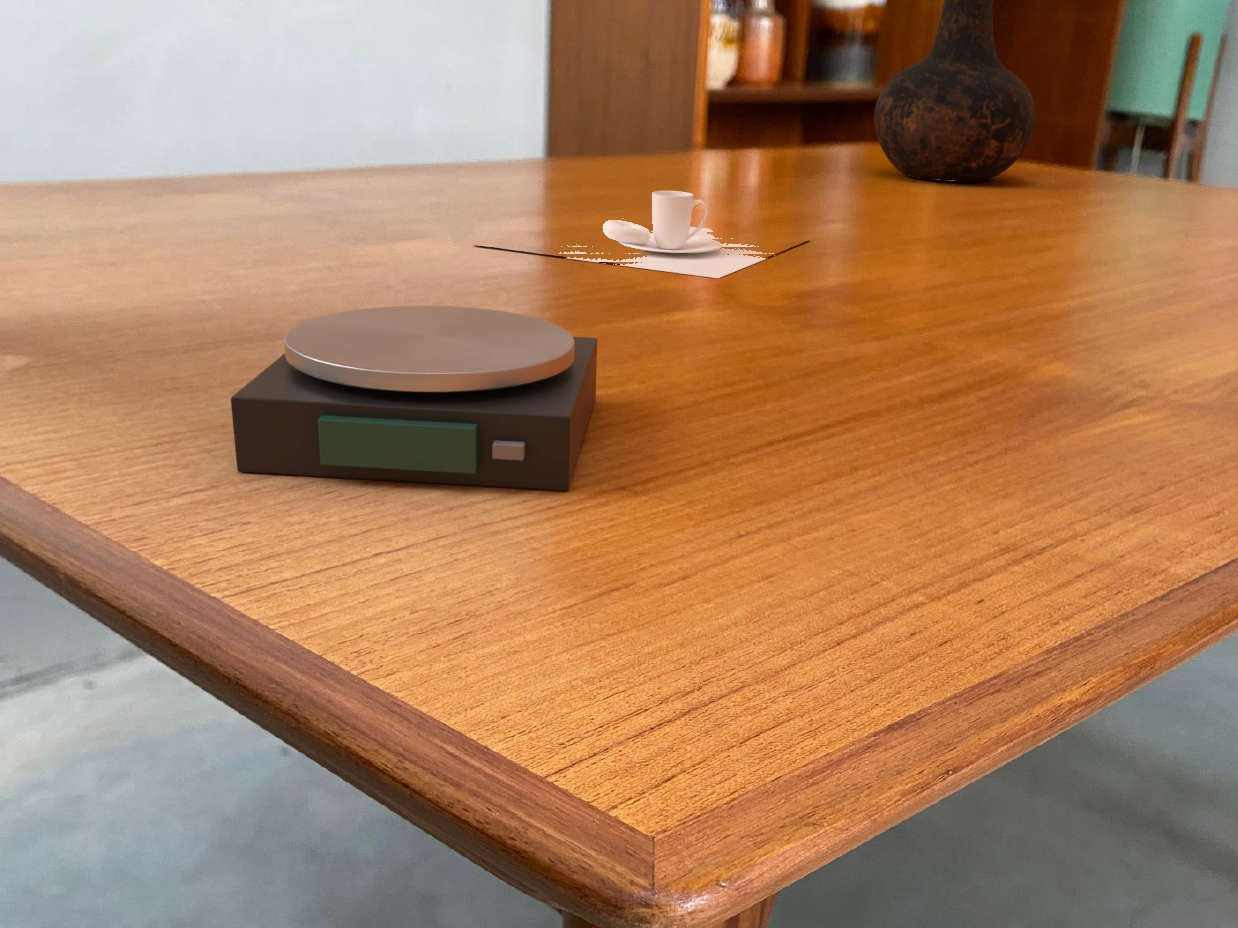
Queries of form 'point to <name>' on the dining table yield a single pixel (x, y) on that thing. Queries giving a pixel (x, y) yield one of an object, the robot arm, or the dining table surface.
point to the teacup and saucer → (676, 241)
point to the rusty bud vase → (956, 104)
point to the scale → (417, 429)
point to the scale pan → (429, 349)
